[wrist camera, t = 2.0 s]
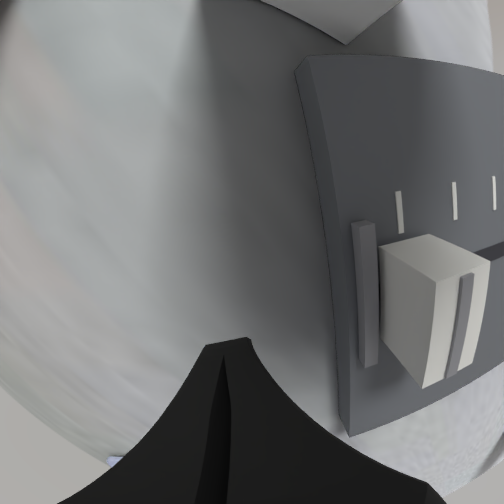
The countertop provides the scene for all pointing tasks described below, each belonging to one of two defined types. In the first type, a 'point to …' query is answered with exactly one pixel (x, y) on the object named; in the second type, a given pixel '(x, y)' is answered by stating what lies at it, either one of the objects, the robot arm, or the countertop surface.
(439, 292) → the fader knob
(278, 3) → the milk carton
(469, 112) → the console board
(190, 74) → the countertop surface
